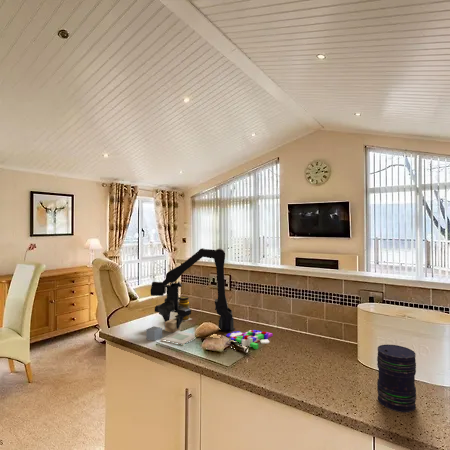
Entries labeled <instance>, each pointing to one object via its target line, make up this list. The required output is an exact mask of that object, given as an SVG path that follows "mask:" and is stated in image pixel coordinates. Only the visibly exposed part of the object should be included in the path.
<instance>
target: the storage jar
mask: <svg viewBox="0 0 450 450" xmlns="http://www.w3.org/2000/svg"><path fill="white" fill-rule="evenodd" d="M376 357H377V358H376V361H377V363H376V366H377V368H378V378H377V382H376V385H377V386H376V388H377V401H378V403H379V404H380V405H381V406H383V407H384V408H385V409H388V410H391V411H394V412H398V413H412V412H414V411H415V410H416V408H417V407H416V401H417V400H416V399H417V388H416V385H415V383H416V382H415V378H416V377H415V376H416V373H417V362H416V352H415V351H414V350H412V349H410V348H409V347H406V346H402V345H397V344H382V345H378V347H377V356H376Z"/></svg>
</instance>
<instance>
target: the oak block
mask: <svg viewBox="0 0 450 450" xmlns="http://www.w3.org/2000/svg"><path fill="white" fill-rule="evenodd" d="M173 319H174V318H172V319H170V320H169V321H166V322H165V321H164V324H165V325H164V327H165V329H164V331H165V332H169V333H172V334H173V333H175V332H177V331H180V328H181V326H180V327H179V329H177V325H176V320H173Z"/></svg>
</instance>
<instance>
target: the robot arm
mask: <svg viewBox="0 0 450 450" xmlns="http://www.w3.org/2000/svg"><path fill="white" fill-rule="evenodd" d="M202 258H209V259H213V260H214V264H215V268H216V286H217V298H215V299H214V305H215V308H214V311H215V312H216V314H217V315H218V316H219V319H218V329H219V328H220V329H221V331H220V332H223V333H227V334H228V333H232V332H234V330H236V327H235V325H234V320H235V319H234V316H233V310H232V309H231V308H230V307H229V305H228V300H227V297H226V282H225V268H224V267H225V263H226V262H225V261H226V260H225V259H226V251H225V250H224V249H223V248H217V249H206V248H200V249H198V251H197V252H195V253H194V254H192V255H191V256H190V257H189V258H188V259H186V260H185V261H184V262H182V263H181V264H180V265H178V266H176V267H174V268H172V269H170V270H169V271H168V272H167V273H166V274H165V279H164V280H163V281H151V286H150V295H151V296H150V297H164V294H166V297H165V298H164V301H163V303H161V304H158V305H155V306H154V312H155V313H158V314H159V315H161V317H162V319H163V321H164V323H165V322H166V321H169V320H171V319H170V318H171V313H175V314H176V313H177V314H176V315H175V316H174V317H175V318H176V325H177V329H179V327H180V328H181V324H182V322H183V321H182V320H183V318H184V317H185V316H187V315H189V316H190V315H192V309H191V308H190V307H189V308H181V309H178V308H180V305H178V302H179V299H180V297H181V296H180V297H179V288H182V286H183V284H182V283H181V282H180V281H178V279H179V278H180V277H181V276H182V275H183V274H184V273H185V272H186V271H187V270H188V269H189V268H190V267H192V266H193V265H194V264H195V263H197V262H198V261H199V260H200V259H202ZM176 281H178V282H176ZM170 283H171V284H170Z"/></svg>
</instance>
